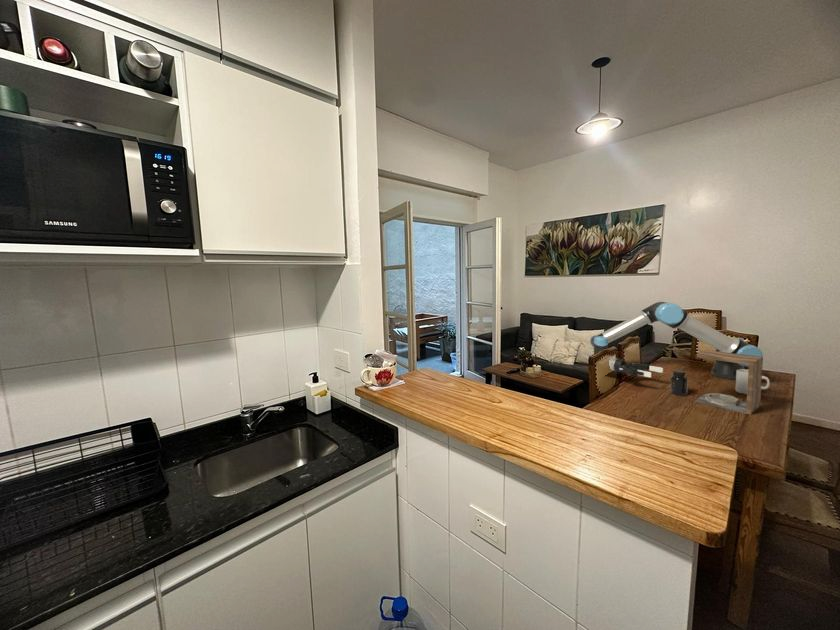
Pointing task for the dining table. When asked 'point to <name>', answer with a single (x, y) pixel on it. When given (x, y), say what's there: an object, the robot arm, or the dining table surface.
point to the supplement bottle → (679, 383)
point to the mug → (746, 381)
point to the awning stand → (753, 383)
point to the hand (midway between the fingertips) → (657, 372)
